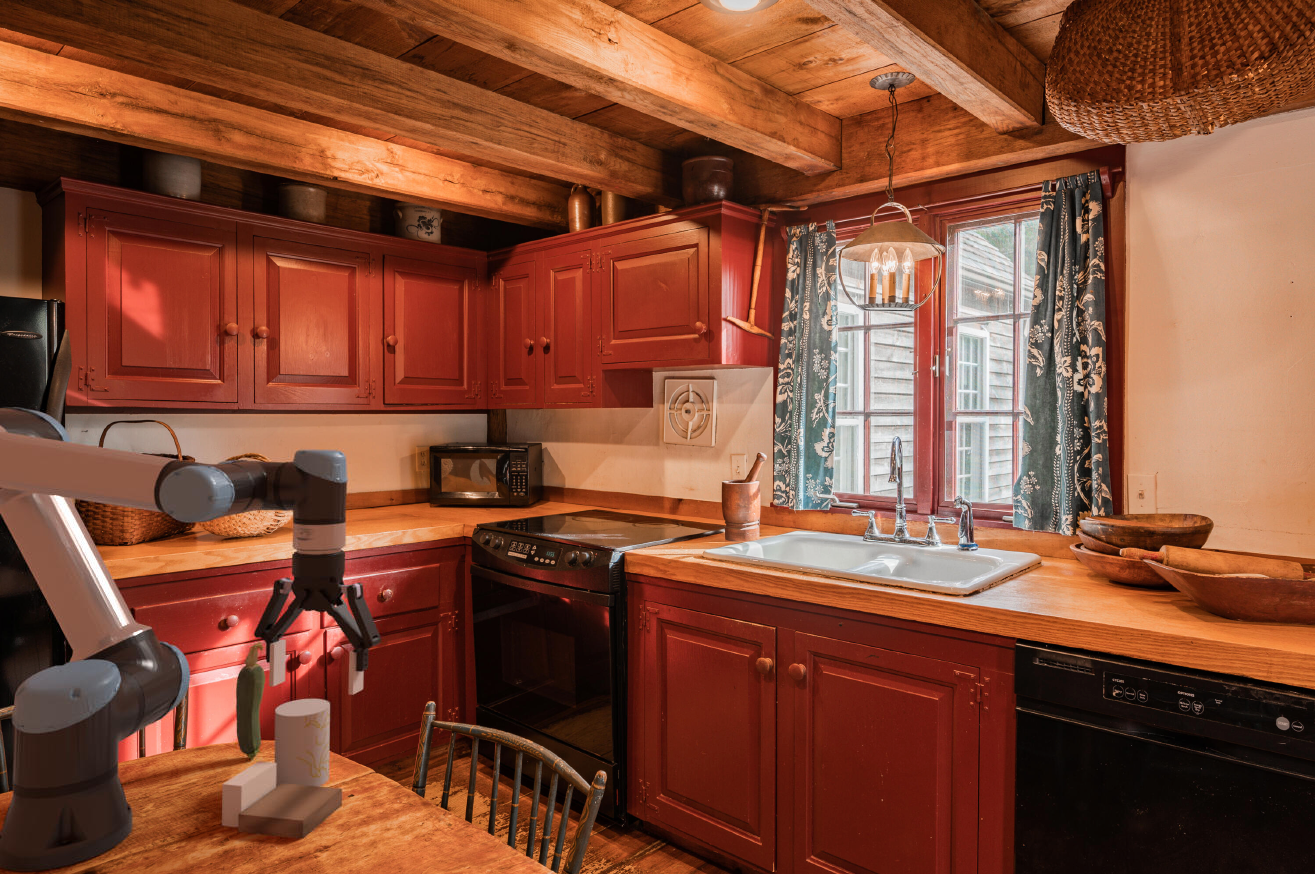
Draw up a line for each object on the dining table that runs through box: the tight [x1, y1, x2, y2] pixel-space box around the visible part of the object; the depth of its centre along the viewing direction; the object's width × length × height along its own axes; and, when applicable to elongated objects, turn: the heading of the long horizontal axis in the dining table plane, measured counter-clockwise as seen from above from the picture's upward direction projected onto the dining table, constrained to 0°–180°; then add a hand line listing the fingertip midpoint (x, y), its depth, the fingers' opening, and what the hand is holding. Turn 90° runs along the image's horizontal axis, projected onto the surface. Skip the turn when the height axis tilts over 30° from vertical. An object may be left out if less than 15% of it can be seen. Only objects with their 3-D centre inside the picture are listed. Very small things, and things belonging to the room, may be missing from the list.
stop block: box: [221, 761, 276, 828], centre depth 118 cm, size 3×8×6 cm, turn 171°
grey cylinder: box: [274, 698, 331, 787], centre depth 130 cm, size 8×8×12 cm
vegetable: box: [235, 641, 266, 761], centre depth 138 cm, size 4×4×20 cm
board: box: [237, 783, 343, 840], centre depth 117 cm, size 10×10×3 cm
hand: (316, 687), depth 123 cm, fingers open, 13 cm apart
